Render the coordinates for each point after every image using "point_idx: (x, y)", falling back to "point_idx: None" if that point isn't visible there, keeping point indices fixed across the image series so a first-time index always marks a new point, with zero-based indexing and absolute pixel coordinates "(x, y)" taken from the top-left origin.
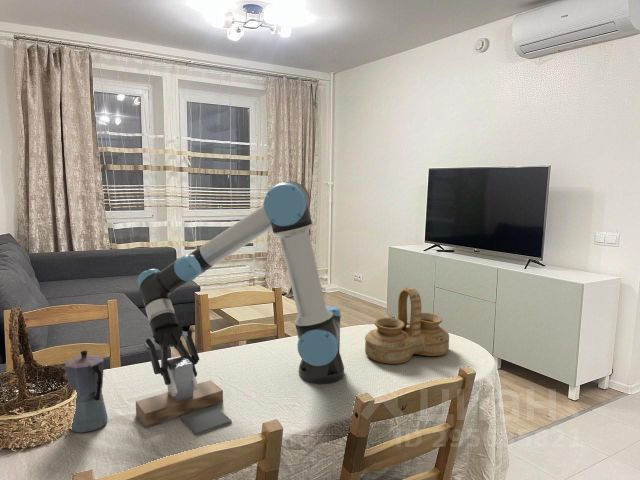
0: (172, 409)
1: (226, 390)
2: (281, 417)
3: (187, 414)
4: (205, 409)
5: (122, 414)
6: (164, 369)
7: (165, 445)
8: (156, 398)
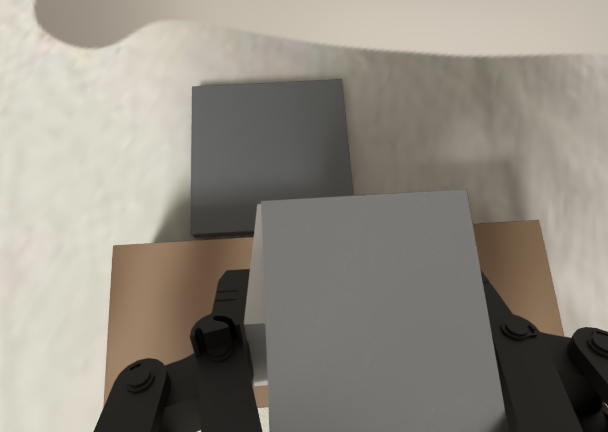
0: None
1: (62, 376)
2: (21, 35)
3: None
4: (243, 220)
5: None
6: (527, 325)
7: (450, 87)
8: None
